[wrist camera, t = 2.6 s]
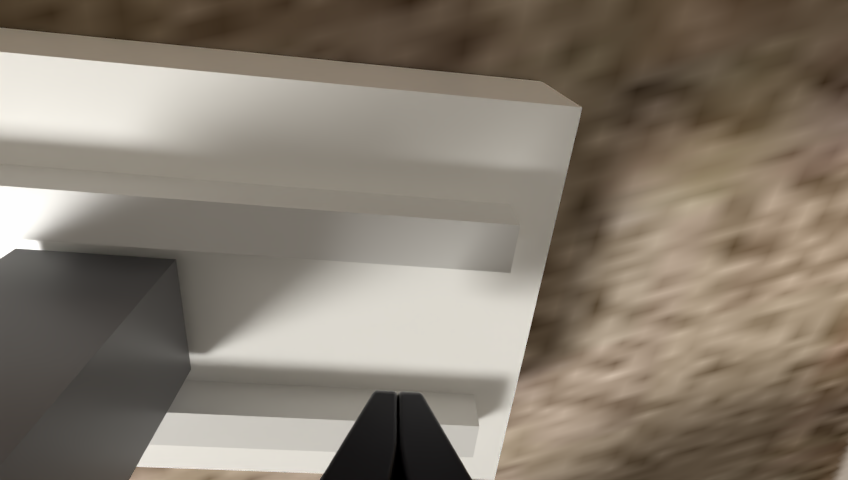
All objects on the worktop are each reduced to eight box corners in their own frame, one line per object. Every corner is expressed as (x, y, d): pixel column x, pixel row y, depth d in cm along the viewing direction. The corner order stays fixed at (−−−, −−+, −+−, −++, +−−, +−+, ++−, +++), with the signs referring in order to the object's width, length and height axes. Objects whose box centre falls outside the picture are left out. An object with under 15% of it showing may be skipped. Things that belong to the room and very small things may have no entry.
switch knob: (176, 259, 10) (-15, 481, 5) (190, 369, 11) (47, 624, 7) (15, 248, 10) (-321, 471, 5) (49, 362, 11) (-199, 620, 6)
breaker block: (541, 81, 12) (601, 120, 8) (479, 398, 16) (500, 514, 13) (-299, -3, 10) (-667, 0, 7) (-118, 369, 15) (-284, 489, 11)
